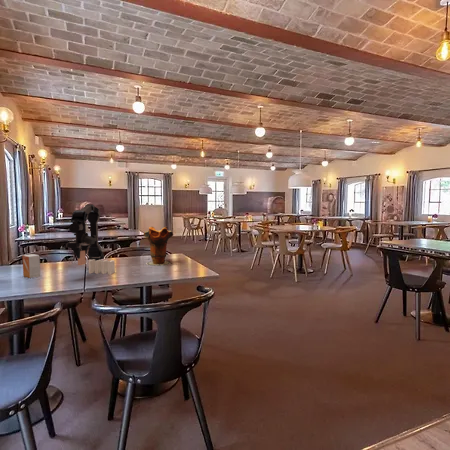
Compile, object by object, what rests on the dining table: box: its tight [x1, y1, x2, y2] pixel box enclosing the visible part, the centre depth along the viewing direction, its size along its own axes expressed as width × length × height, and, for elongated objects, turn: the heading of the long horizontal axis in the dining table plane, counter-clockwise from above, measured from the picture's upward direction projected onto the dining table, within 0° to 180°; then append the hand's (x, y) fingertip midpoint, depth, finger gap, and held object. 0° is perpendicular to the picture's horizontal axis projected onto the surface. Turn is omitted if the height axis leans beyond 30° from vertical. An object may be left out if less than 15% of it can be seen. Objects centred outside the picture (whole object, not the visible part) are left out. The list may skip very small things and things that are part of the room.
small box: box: [21, 253, 41, 279], centre depth 193 cm, size 8×6×13 cm
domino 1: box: [77, 250, 87, 266], centre depth 189 cm, size 5×2×8 cm, turn 169°
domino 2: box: [88, 259, 95, 274], centre depth 203 cm, size 5×2×8 cm, turn 169°
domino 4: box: [101, 259, 109, 275], centre depth 201 cm, size 5×2×8 cm, turn 169°
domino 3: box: [94, 259, 103, 275], centre depth 202 cm, size 5×2×8 cm, turn 169°
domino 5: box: [107, 259, 116, 275], centre depth 201 cm, size 5×2×8 cm, turn 169°
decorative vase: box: [142, 226, 174, 267], centre depth 232 cm, size 21×23×28 cm
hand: (81, 257), depth 189 cm, fingers closed on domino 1, 5 cm apart
